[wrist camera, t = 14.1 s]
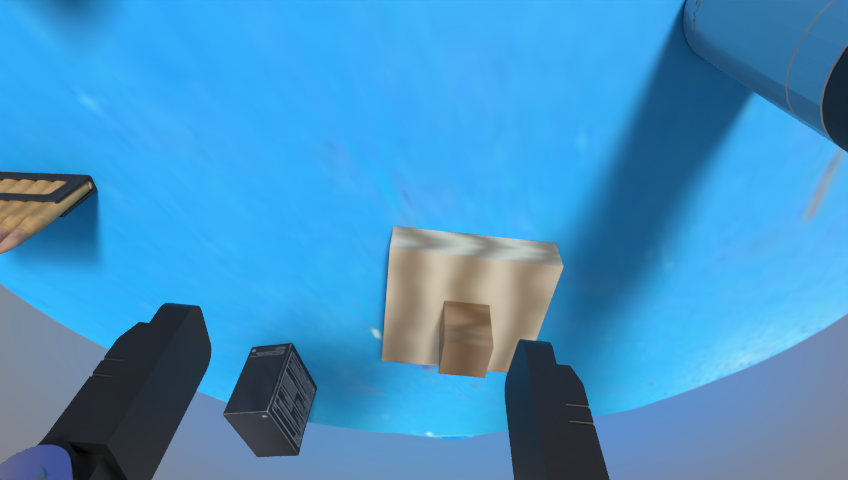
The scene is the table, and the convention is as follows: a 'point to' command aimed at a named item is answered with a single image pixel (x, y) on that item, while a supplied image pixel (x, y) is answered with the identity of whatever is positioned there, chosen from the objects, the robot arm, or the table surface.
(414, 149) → the table surface
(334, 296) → the table surface
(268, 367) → the small box
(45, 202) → the ammunition clip
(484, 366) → the walnut block
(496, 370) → the birch plinth
